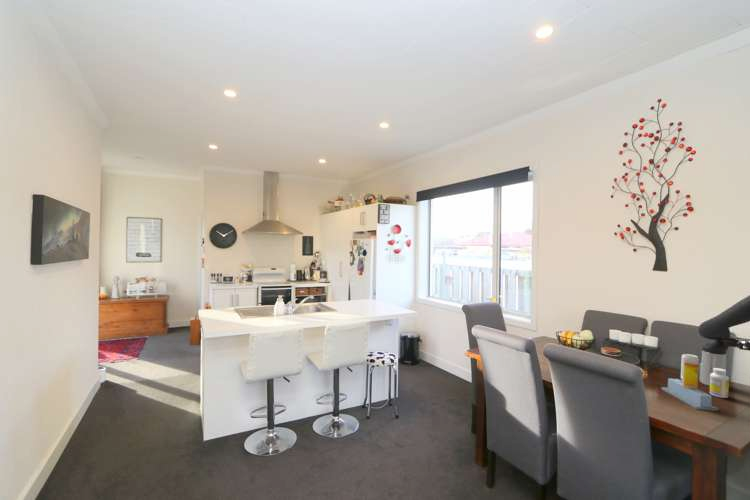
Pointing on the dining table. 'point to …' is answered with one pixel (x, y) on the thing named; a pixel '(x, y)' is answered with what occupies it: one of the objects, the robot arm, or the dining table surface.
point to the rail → (689, 395)
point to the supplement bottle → (719, 383)
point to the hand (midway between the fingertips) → (723, 341)
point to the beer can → (689, 371)
